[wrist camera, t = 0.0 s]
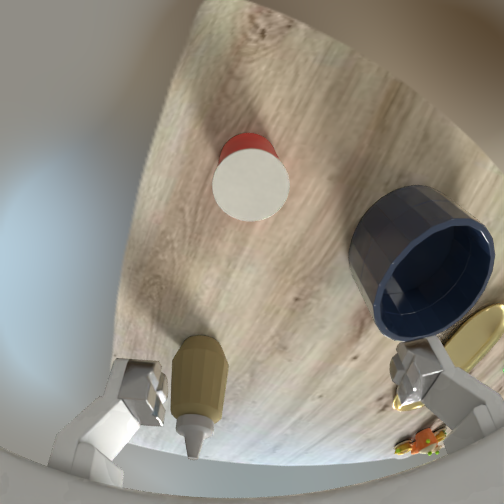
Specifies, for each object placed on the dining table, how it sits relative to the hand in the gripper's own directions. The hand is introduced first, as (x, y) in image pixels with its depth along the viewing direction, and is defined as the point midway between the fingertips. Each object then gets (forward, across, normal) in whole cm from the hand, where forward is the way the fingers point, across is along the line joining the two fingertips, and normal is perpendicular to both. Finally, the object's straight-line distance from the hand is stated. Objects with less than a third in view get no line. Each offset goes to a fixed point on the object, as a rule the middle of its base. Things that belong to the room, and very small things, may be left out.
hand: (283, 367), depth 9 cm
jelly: (+24, 0, -1) cm, 24 cm away
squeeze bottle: (+24, +8, +26) cm, 37 cm away
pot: (+24, -20, +10) cm, 32 cm away
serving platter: (+24, -42, +40) cm, 63 cm away
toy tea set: (+24, -58, +91) cm, 110 cm away
